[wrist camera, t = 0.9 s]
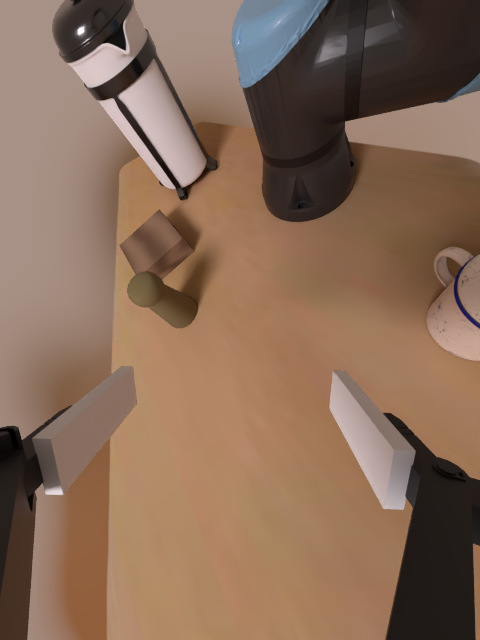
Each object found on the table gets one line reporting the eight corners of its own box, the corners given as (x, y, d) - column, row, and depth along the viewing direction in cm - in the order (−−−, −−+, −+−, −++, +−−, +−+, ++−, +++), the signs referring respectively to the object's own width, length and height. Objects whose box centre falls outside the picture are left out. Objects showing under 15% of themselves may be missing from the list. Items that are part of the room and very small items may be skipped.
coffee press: (223, 141, 54) (120, -111, 28) (211, 195, 50) (73, -46, 23) (163, 159, 61) (32, -31, 34) (147, 209, 56) (-19, 32, 30)
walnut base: (171, 223, 51) (159, 209, 48) (194, 251, 46) (182, 238, 42) (134, 256, 52) (119, 245, 48) (152, 287, 47) (137, 278, 43)
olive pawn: (171, 334, 41) (122, 311, 32) (165, 306, 44) (117, 277, 34) (201, 318, 40) (159, 290, 30) (192, 291, 43) (151, 257, 33)
